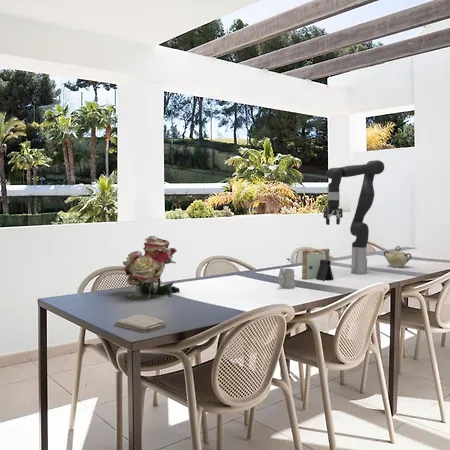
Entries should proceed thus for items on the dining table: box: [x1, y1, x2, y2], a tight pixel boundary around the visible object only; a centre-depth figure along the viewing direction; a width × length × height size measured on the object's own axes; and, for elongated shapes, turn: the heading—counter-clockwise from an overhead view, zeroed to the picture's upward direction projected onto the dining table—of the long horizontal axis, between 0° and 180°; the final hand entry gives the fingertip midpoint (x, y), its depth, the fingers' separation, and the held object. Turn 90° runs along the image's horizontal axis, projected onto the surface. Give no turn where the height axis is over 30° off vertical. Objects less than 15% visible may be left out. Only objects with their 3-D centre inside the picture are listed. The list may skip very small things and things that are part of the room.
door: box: [306, 253, 326, 280], centre depth 305 cm, size 15×3×15 cm, turn 121°
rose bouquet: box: [122, 235, 181, 300], centre depth 250 cm, size 26×29×30 cm
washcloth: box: [114, 314, 167, 334], centre depth 193 cm, size 12×18×3 cm, turn 55°
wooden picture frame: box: [301, 248, 330, 280], centre depth 306 cm, size 20×2×18 cm, turn 121°
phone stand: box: [315, 259, 334, 282], centre depth 300 cm, size 9×6×12 cm, turn 124°
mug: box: [277, 266, 296, 289], centre depth 274 cm, size 8×12×12 cm, turn 133°
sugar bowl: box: [383, 245, 412, 268], centre depth 356 cm, size 20×15×15 cm
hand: (332, 224), depth 318 cm, fingers open, 8 cm apart
